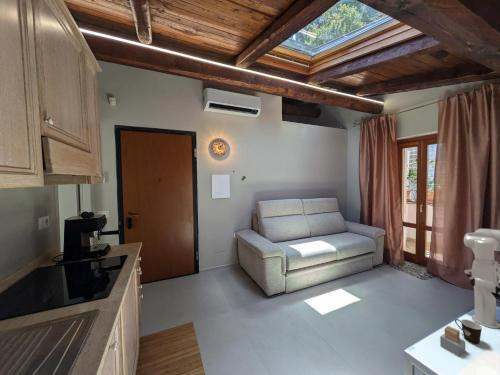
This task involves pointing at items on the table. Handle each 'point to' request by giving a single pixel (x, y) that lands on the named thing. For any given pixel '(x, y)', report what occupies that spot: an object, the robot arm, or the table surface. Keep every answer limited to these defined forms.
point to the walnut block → (452, 334)
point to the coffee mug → (470, 331)
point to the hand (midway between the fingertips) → (484, 289)
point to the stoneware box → (453, 345)
